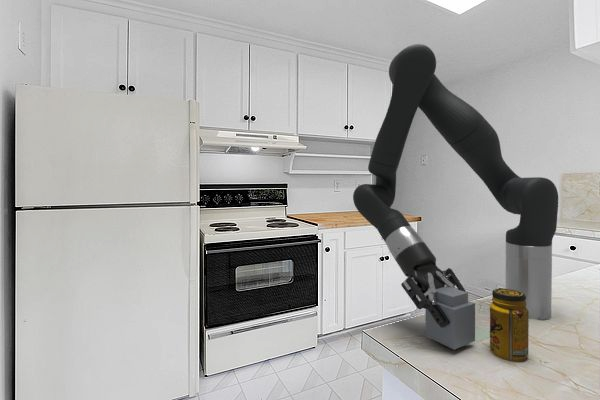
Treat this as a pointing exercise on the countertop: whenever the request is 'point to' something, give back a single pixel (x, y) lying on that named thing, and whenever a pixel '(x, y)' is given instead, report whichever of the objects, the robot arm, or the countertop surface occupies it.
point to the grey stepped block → (453, 318)
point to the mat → (480, 335)
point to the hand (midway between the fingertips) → (457, 321)
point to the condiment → (509, 325)
